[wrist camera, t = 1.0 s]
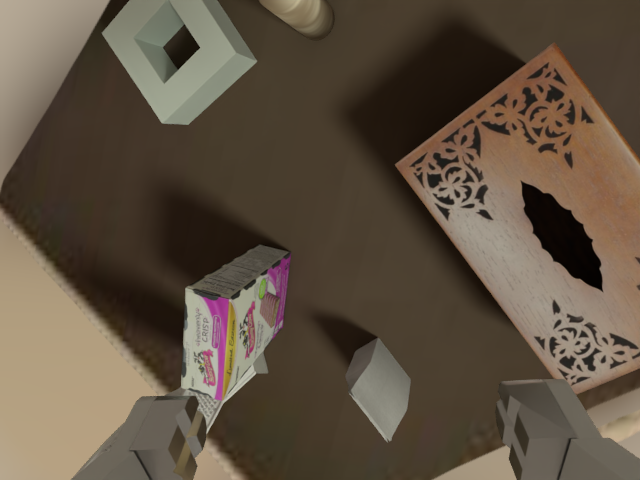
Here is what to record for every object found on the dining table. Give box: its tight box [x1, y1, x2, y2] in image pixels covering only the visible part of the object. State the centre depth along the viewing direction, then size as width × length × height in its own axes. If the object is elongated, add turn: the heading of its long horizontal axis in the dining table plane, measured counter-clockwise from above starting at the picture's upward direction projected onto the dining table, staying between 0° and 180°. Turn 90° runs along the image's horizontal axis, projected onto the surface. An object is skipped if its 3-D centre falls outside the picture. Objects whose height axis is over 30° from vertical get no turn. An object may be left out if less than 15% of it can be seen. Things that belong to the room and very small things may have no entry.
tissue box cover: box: [395, 42, 640, 394], centre depth 37 cm, size 26×14×10 cm, turn 39°
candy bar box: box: [181, 245, 291, 401], centre depth 45 cm, size 11×5×16 cm, turn 173°
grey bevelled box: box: [345, 338, 411, 443], centre depth 46 cm, size 4×7×10 cm, turn 40°
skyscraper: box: [74, 352, 268, 477], centre depth 44 cm, size 8×8×28 cm
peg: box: [259, 0, 334, 40], centre depth 38 cm, size 4×4×11 cm
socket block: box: [102, 0, 257, 125], centre depth 45 cm, size 12×12×5 cm
